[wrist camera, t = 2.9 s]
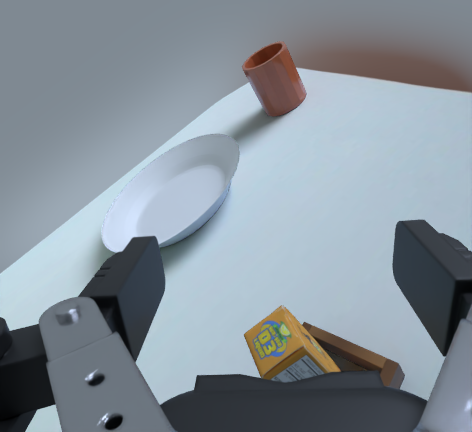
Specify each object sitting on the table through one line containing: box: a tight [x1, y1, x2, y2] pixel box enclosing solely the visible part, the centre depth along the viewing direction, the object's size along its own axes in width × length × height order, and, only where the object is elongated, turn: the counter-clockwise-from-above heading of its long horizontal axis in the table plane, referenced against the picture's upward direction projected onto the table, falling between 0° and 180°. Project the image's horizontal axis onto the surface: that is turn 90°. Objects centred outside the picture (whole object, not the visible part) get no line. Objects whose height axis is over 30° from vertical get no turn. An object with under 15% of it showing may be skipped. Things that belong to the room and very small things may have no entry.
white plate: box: [102, 134, 240, 253], centre depth 56 cm, size 25×25×4 cm
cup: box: [242, 42, 306, 117], centre depth 60 cm, size 8×8×9 cm
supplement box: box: [244, 305, 341, 382], centre depth 24 cm, size 3×3×10 cm
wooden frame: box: [302, 322, 405, 389], centre depth 26 cm, size 8×8×2 cm
